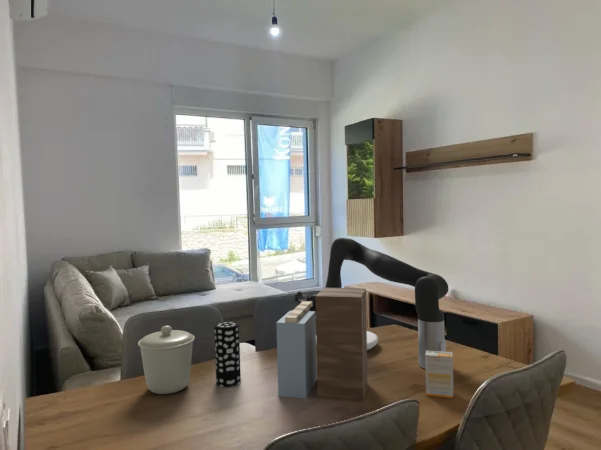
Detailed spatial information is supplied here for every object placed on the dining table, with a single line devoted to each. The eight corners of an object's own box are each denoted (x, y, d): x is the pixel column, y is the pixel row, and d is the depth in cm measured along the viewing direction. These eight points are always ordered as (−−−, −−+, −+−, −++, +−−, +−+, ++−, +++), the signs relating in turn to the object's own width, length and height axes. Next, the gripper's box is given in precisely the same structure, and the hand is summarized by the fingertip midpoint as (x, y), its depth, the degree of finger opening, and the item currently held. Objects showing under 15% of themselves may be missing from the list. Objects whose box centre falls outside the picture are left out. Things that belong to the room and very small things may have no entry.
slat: (303, 305, 165) (303, 300, 165) (312, 305, 164) (312, 301, 164) (285, 322, 142) (284, 317, 142) (295, 322, 141) (295, 317, 141)
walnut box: (326, 380, 155) (324, 287, 153) (367, 383, 151) (365, 288, 150) (317, 398, 141) (315, 296, 140) (362, 401, 138) (361, 297, 136)
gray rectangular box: (291, 377, 159) (289, 310, 158) (316, 378, 156) (315, 311, 155) (278, 396, 143) (276, 322, 142) (306, 398, 141) (304, 323, 140)
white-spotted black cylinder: (245, 379, 157) (243, 322, 156) (231, 388, 150) (230, 328, 149) (225, 376, 161) (223, 320, 160) (211, 385, 153) (209, 326, 152)
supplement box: (453, 392, 143) (453, 351, 142) (453, 399, 138) (453, 356, 138) (426, 389, 145) (426, 349, 145) (425, 395, 141) (425, 354, 140)
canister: (158, 405, 139) (155, 337, 138) (129, 389, 151) (127, 327, 150) (207, 386, 152) (205, 324, 151) (177, 373, 164) (175, 316, 163)
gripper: (301, 297, 186) (292, 283, 172) (336, 298, 182) (329, 284, 168) (300, 315, 182) (290, 303, 168) (335, 316, 179) (328, 304, 165)
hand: (310, 293), depth 168 cm, fingers open, 8 cm apart
